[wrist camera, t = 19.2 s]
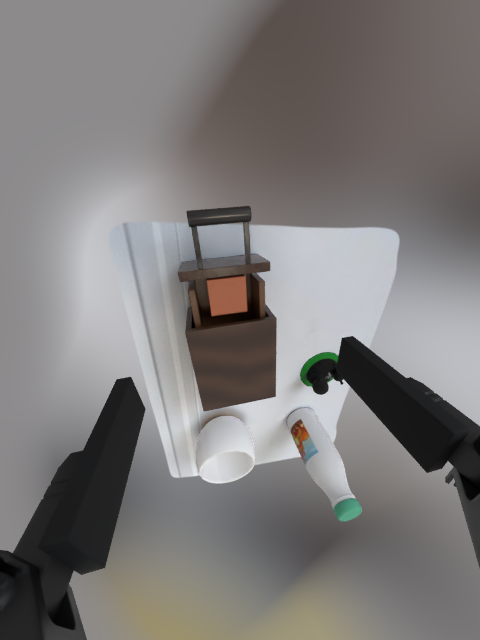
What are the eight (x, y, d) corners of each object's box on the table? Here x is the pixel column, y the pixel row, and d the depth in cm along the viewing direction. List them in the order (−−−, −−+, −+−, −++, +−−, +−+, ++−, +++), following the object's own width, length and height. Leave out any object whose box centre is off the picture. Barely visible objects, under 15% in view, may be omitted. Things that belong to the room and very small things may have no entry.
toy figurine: (338, 381, 50) (354, 400, 44) (299, 390, 48) (311, 411, 43) (343, 348, 45) (362, 364, 40) (300, 357, 44) (314, 376, 39)
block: (205, 271, 30) (206, 280, 25) (238, 267, 30) (245, 276, 26) (209, 302, 32) (211, 316, 28) (240, 298, 33) (247, 311, 28)
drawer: (171, 213, 27) (164, 212, 21) (255, 206, 28) (270, 204, 23) (198, 344, 36) (198, 367, 31) (259, 333, 38) (270, 354, 32)
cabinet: (187, 308, 34) (185, 332, 27) (260, 297, 36) (276, 318, 29) (202, 378, 41) (203, 411, 34) (262, 366, 43) (275, 396, 36)
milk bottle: (305, 402, 51) (362, 500, 33) (318, 415, 54) (376, 510, 37) (280, 419, 52) (323, 522, 34) (295, 430, 56) (341, 530, 38)
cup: (255, 408, 48) (267, 449, 40) (237, 441, 53) (245, 484, 44) (204, 402, 44) (205, 446, 36) (190, 439, 49) (188, 485, 41)
